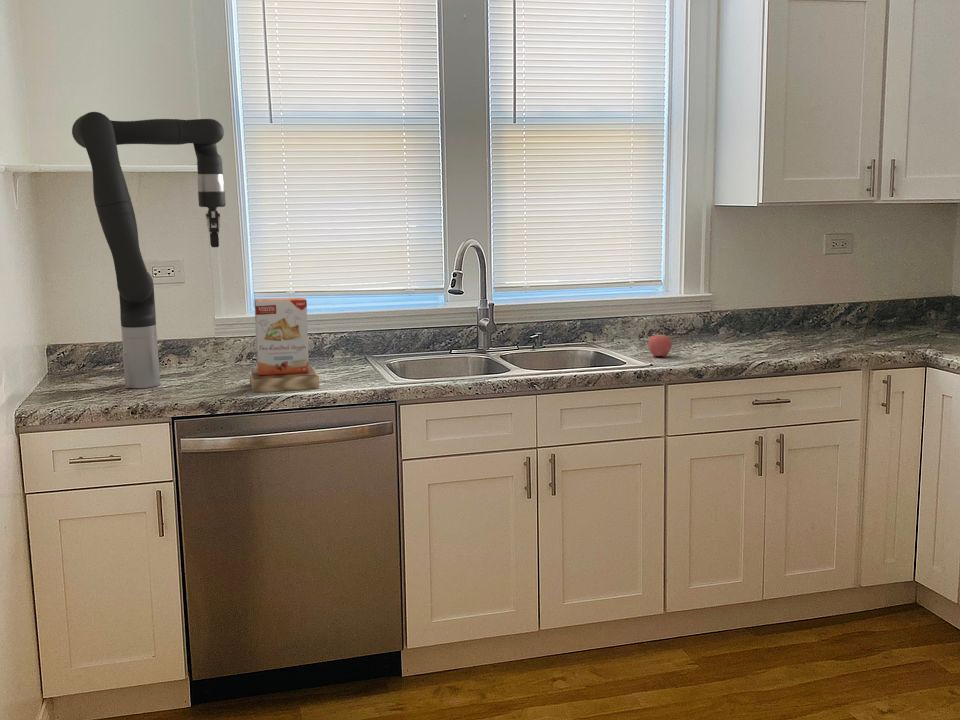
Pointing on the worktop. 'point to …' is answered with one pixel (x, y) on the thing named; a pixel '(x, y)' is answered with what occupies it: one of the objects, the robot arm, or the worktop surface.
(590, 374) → the worktop surface
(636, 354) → the worktop surface
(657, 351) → the apple
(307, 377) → the podium
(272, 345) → the cracker box
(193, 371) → the worktop surface
